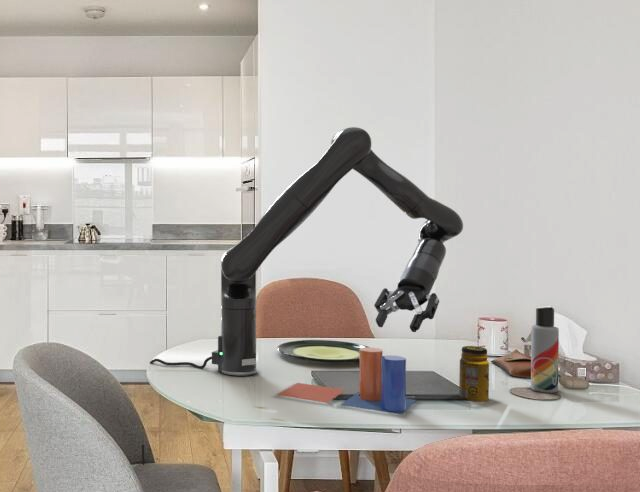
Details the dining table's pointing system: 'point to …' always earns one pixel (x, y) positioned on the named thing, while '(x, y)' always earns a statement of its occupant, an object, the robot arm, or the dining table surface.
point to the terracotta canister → (370, 373)
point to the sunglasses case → (515, 364)
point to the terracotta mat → (311, 392)
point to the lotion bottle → (544, 352)
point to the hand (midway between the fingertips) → (395, 327)
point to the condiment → (474, 374)
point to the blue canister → (393, 383)
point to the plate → (322, 350)
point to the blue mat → (371, 404)
